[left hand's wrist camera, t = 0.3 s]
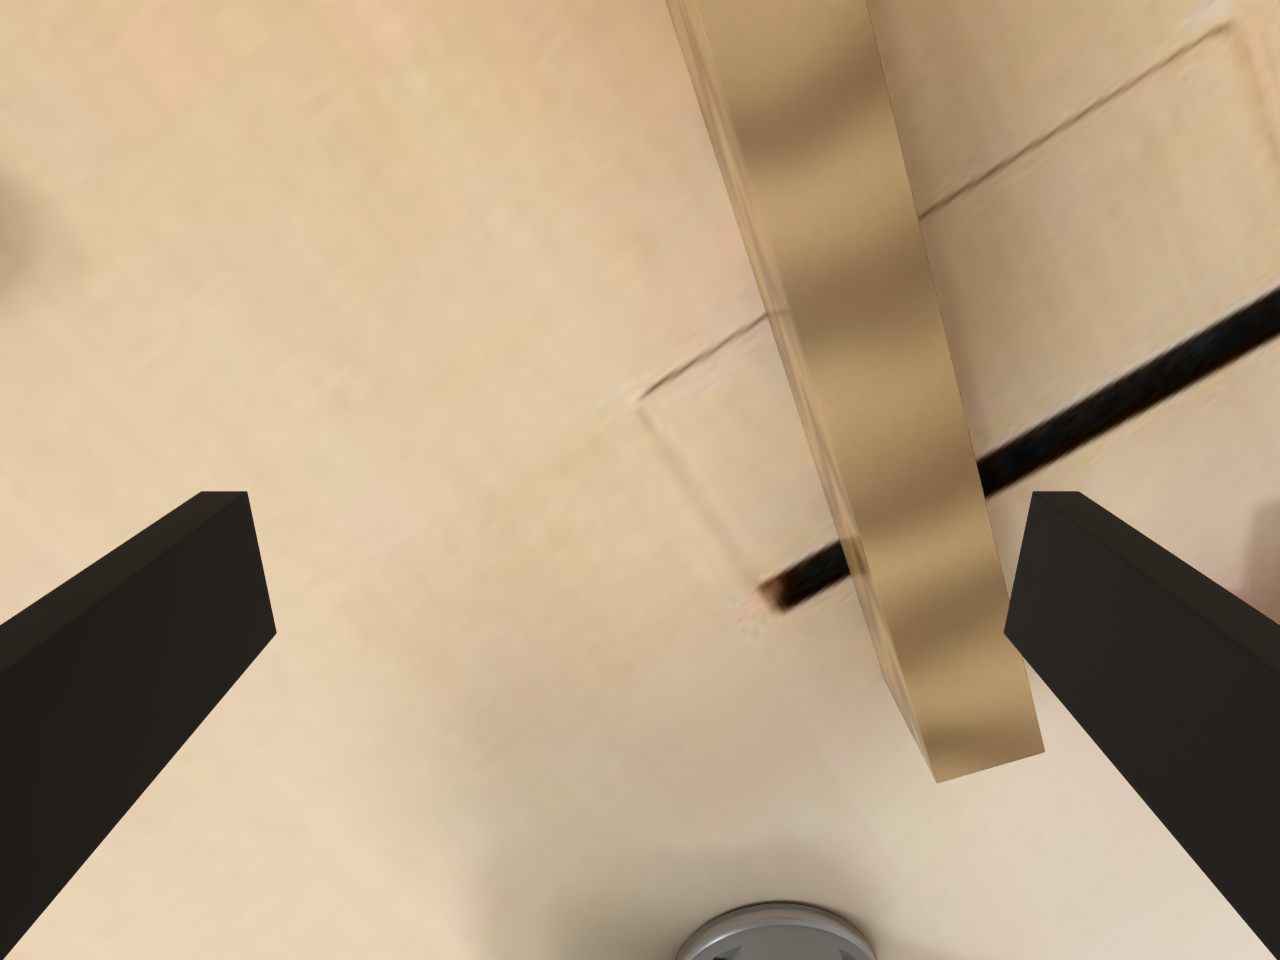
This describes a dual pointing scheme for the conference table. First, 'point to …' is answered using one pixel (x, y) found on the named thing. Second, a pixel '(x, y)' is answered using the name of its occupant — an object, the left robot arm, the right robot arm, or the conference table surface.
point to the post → (865, 356)
